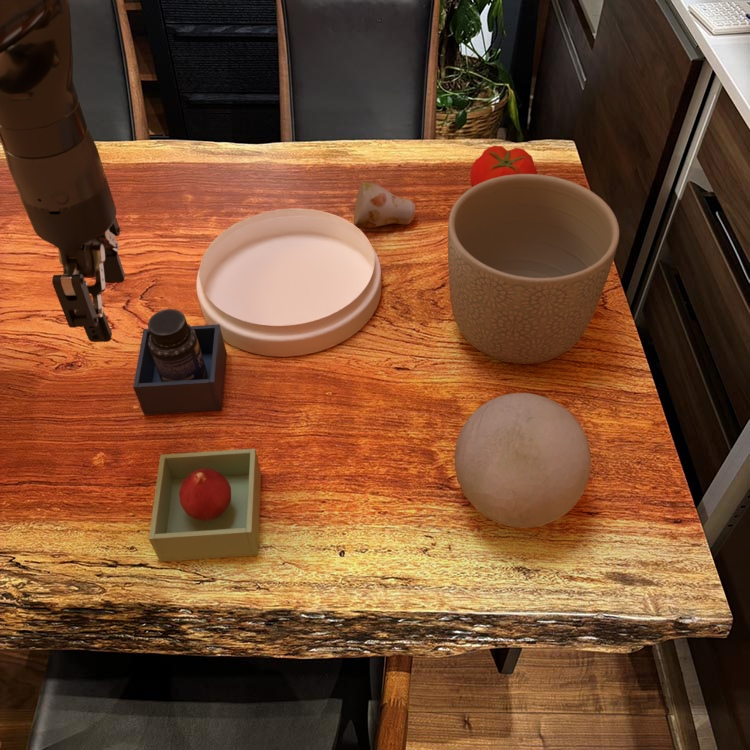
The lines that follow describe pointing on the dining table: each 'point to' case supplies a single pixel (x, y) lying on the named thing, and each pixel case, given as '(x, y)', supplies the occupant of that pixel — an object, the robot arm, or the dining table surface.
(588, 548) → the dining table surface
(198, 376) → the pill bottle
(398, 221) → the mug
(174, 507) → the box
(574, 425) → the decorative sphere
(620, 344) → the dining table surface
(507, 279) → the planter
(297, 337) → the plate
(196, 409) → the bin
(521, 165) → the tomato
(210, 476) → the onion
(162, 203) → the dining table surface
